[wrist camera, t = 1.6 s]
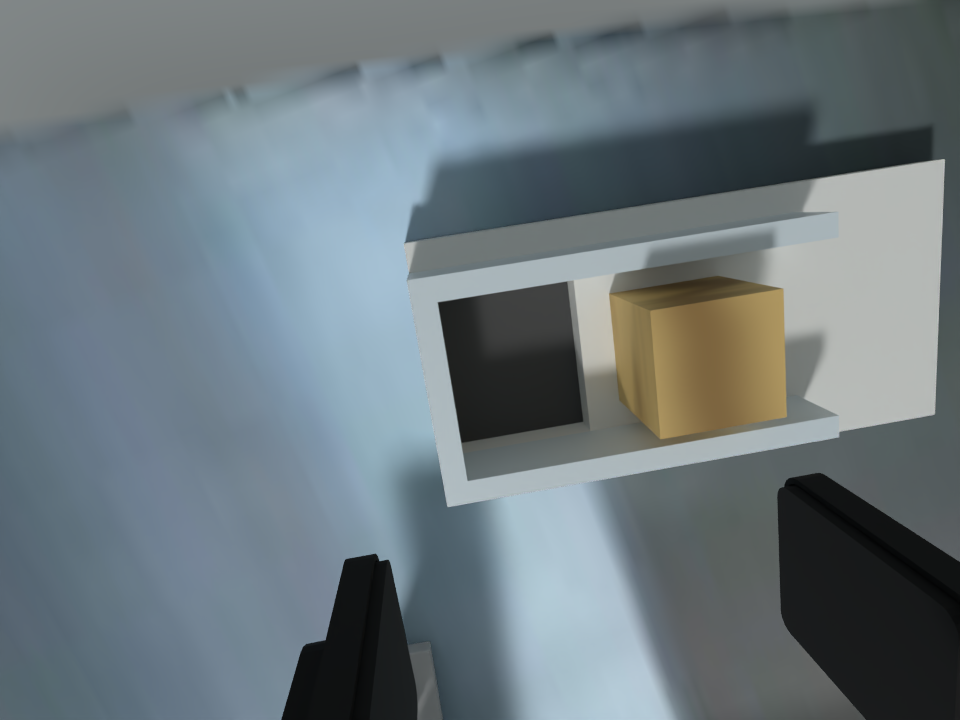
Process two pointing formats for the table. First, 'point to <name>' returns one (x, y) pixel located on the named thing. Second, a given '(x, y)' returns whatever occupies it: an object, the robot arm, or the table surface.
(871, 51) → the table surface
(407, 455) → the table surface
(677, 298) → the block
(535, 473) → the channel
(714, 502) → the table surface
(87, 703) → the table surface
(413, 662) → the test tube rack
